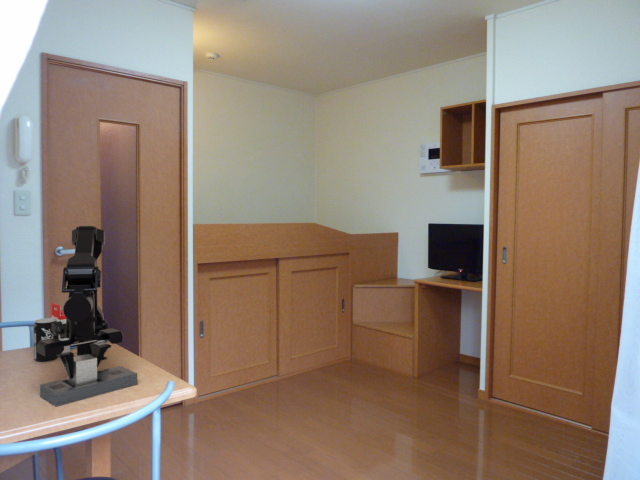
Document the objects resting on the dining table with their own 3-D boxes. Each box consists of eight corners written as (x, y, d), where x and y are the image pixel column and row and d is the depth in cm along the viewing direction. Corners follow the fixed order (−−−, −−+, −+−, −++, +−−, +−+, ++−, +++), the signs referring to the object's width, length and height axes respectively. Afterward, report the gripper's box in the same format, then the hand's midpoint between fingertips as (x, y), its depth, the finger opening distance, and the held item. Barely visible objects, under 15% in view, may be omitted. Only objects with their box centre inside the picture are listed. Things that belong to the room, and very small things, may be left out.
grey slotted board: (120, 376, 132) (120, 365, 132) (137, 384, 126) (137, 373, 126) (40, 396, 117) (40, 384, 117) (55, 406, 111) (55, 393, 111)
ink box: (76, 348, 159) (76, 304, 158) (60, 351, 156) (60, 306, 155) (66, 343, 165) (66, 300, 164) (51, 346, 161) (50, 302, 161)
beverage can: (63, 357, 149) (63, 318, 148) (45, 363, 143) (44, 323, 142) (47, 355, 151) (47, 317, 151) (28, 361, 145) (28, 321, 144)
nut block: (88, 377, 123) (87, 353, 123) (97, 381, 120) (97, 357, 120) (67, 382, 119) (67, 358, 119) (76, 386, 116) (76, 362, 116)
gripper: (103, 304, 131) (104, 361, 132) (27, 313, 117) (28, 377, 118) (124, 309, 124) (124, 369, 125) (45, 320, 110) (46, 388, 111)
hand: (82, 375), depth 120 cm, fingers closed on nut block, 5 cm apart
